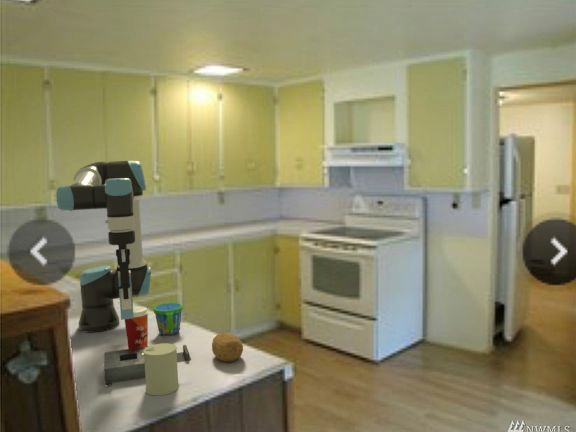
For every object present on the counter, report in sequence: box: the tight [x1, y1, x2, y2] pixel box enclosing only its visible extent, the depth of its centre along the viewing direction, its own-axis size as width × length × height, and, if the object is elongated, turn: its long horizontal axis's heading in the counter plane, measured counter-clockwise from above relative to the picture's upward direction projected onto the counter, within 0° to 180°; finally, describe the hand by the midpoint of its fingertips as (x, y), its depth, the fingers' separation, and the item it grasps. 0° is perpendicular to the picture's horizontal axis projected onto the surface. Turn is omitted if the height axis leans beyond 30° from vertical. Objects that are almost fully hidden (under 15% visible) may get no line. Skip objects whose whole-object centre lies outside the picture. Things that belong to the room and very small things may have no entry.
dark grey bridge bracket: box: [177, 344, 192, 363], centre depth 165 cm, size 8×8×3 cm
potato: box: [211, 332, 244, 363], centre depth 163 cm, size 10×14×8 cm
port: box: [103, 345, 150, 387], centre depth 155 cm, size 14×14×5 cm
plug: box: [118, 270, 134, 321], centre depth 153 cm, size 4×4×14 cm
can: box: [143, 342, 180, 396], centre depth 144 cm, size 9×9×12 cm
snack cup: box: [153, 302, 184, 337], centre depth 191 cm, size 16×10×10 cm
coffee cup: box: [124, 306, 150, 349], centre depth 171 cm, size 8×8×15 cm
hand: (126, 307), depth 154 cm, fingers closed on plug, 4 cm apart
